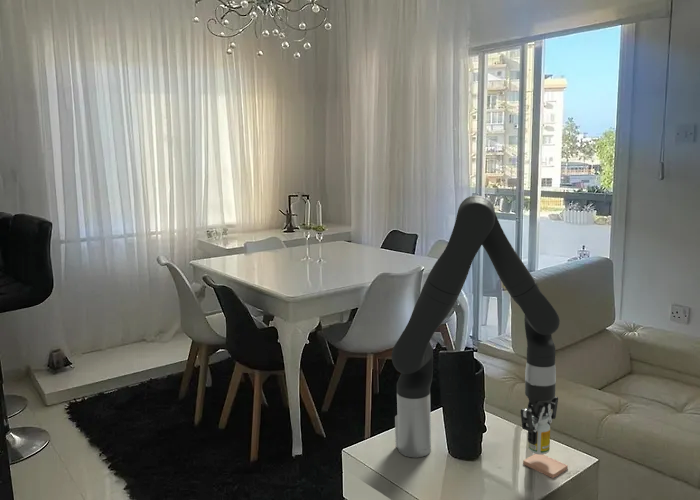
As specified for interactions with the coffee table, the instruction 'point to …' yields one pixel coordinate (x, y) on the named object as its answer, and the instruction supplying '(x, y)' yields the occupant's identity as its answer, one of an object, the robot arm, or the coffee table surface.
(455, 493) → the coffee table surface
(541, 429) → the supplement bottle
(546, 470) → the tile
